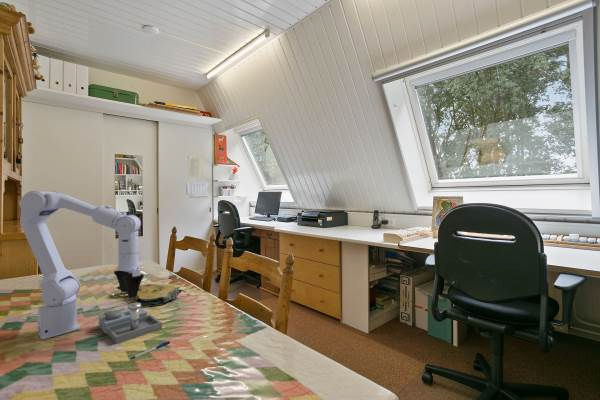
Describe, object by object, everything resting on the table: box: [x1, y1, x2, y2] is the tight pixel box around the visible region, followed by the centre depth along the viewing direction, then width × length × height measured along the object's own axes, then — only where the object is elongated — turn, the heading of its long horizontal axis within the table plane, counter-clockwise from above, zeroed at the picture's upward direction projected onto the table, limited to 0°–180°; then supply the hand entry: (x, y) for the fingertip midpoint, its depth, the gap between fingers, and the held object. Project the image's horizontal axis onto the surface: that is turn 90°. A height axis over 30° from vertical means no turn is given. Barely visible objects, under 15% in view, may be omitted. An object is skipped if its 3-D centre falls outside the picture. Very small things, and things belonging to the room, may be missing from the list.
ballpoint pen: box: [130, 340, 171, 360], centre depth 82 cm, size 10×1×1 cm, turn 144°
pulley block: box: [116, 283, 187, 307], centre depth 122 cm, size 14×6×30 cm
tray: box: [105, 314, 163, 345], centre depth 93 cm, size 13×9×2 cm
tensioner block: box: [98, 307, 148, 334], centre depth 98 cm, size 12×7×4 cm, turn 138°
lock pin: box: [127, 302, 142, 331], centre depth 93 cm, size 4×4×8 cm
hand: (128, 294), depth 97 cm, fingers open, 7 cm apart
